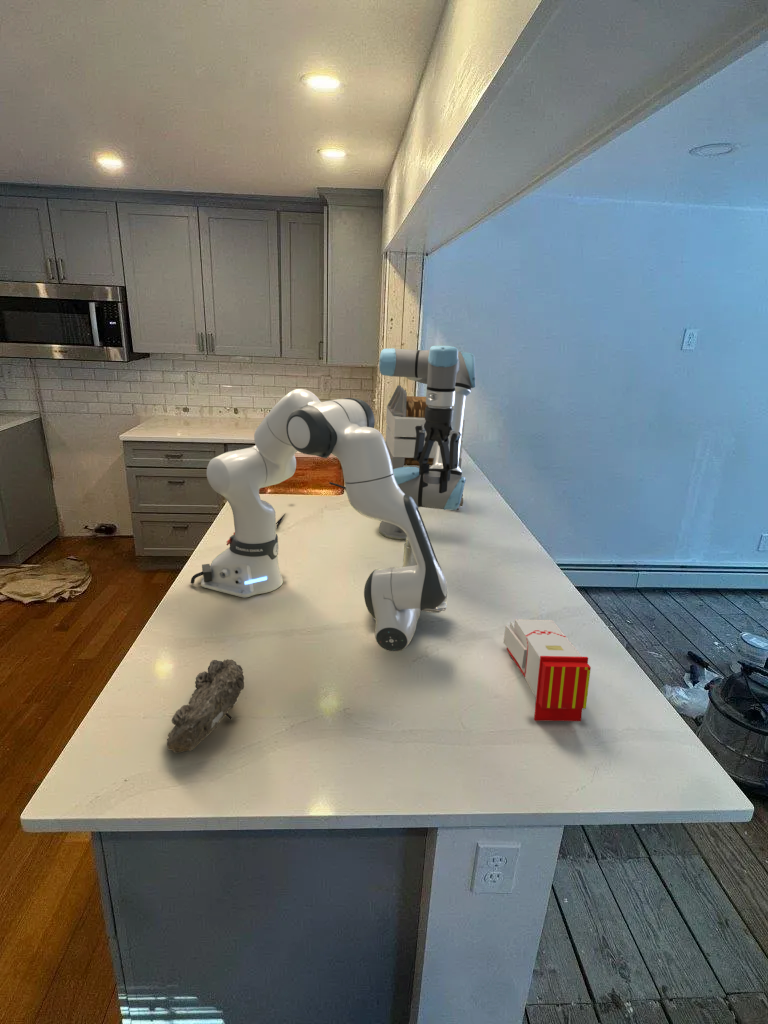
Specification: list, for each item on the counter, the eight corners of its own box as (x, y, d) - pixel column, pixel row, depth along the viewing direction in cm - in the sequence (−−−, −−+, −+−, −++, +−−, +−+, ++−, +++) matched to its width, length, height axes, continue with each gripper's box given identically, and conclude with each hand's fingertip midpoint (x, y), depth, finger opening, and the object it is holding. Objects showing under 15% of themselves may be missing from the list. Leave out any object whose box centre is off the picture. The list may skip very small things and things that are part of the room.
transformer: (382, 463, 289) (386, 382, 275) (445, 464, 293) (451, 384, 279) (390, 482, 257) (394, 392, 243) (460, 483, 261) (468, 394, 247)
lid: (449, 482, 157) (449, 475, 156) (432, 485, 154) (433, 478, 153) (435, 477, 162) (435, 470, 161) (418, 479, 158) (419, 472, 158)
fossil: (192, 660, 117) (244, 628, 112) (224, 691, 120) (276, 661, 115) (142, 746, 98) (202, 712, 93) (182, 779, 101) (242, 748, 96)
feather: (292, 507, 224) (294, 503, 223) (275, 531, 197) (278, 527, 197) (288, 505, 224) (291, 501, 223) (271, 528, 197) (273, 524, 197)
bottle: (398, 605, 152) (402, 539, 145) (404, 597, 156) (408, 533, 150) (415, 609, 150) (420, 543, 144) (421, 601, 154) (426, 536, 148)
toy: (549, 604, 136) (599, 663, 106) (544, 656, 138) (591, 727, 109) (499, 603, 135) (535, 662, 106) (495, 655, 138) (529, 726, 109)
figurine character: (463, 515, 225) (458, 499, 238) (465, 497, 221) (460, 482, 235) (446, 514, 224) (442, 498, 238) (448, 497, 221) (444, 482, 235)
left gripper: (446, 600, 136) (451, 575, 149) (363, 589, 140) (375, 566, 153) (444, 623, 138) (449, 597, 151) (363, 612, 142) (374, 587, 155)
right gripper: (403, 402, 154) (398, 484, 162) (461, 413, 142) (453, 500, 150) (419, 400, 159) (414, 479, 167) (477, 410, 148) (469, 494, 156)
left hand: (411, 581), depth 152 cm, fingers closed on bottle, 5 cm apart
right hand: (433, 489), depth 159 cm, fingers closed on lid, 6 cm apart
